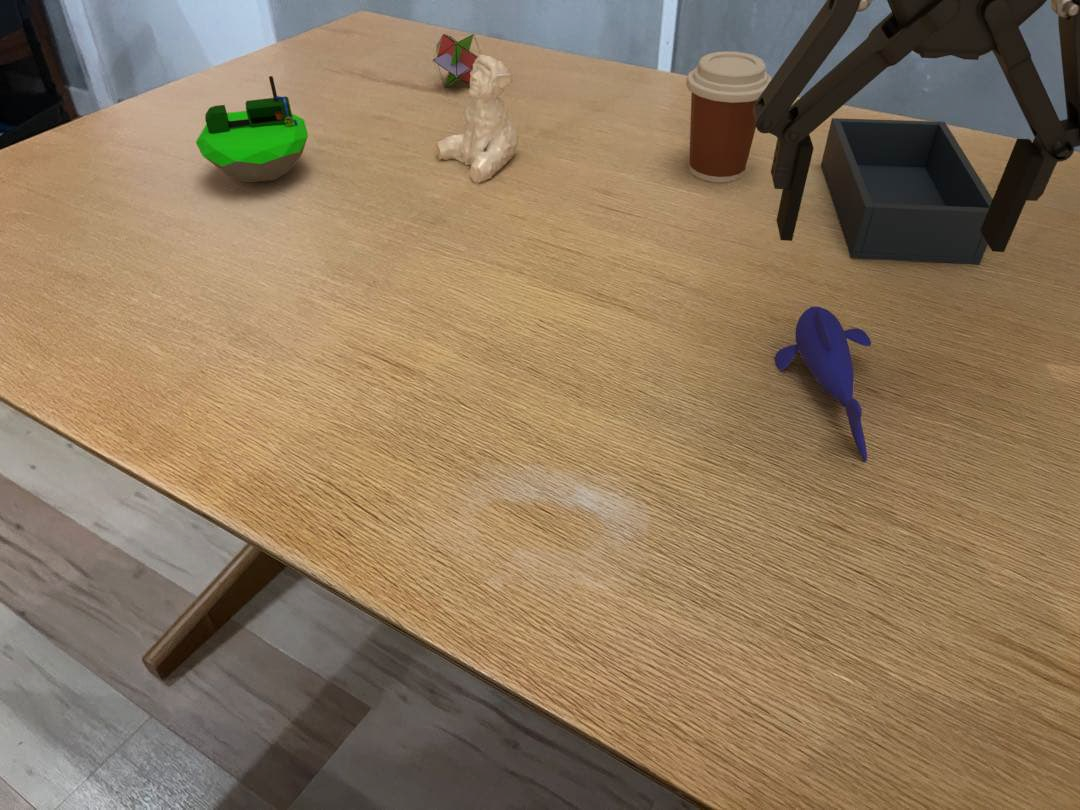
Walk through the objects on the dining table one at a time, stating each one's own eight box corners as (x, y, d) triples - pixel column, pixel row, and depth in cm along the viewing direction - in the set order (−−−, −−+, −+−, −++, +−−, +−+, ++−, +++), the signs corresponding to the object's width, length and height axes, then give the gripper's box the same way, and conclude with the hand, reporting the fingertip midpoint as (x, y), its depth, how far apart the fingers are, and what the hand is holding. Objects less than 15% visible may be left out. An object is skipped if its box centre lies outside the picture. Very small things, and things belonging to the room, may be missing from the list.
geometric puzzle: (505, 67, 113) (473, 12, 110) (477, 83, 108) (443, 27, 106) (473, 91, 118) (442, 39, 116) (444, 107, 114) (412, 54, 111)
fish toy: (770, 352, 71) (755, 291, 67) (859, 328, 70) (851, 263, 65) (814, 479, 60) (801, 414, 56) (922, 453, 58) (917, 385, 54)
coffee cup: (743, 194, 90) (761, 84, 82) (664, 177, 93) (675, 69, 85) (767, 161, 96) (787, 55, 88) (693, 145, 99) (705, 42, 91)
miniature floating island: (311, 147, 100) (291, 54, 92) (318, 191, 91) (298, 92, 84) (208, 160, 97) (180, 65, 90) (206, 206, 89) (175, 106, 82)
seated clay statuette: (431, 156, 97) (421, 52, 89) (490, 137, 101) (485, 35, 93) (478, 185, 92) (471, 77, 84) (538, 163, 96) (537, 58, 88)
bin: (929, 169, 94) (944, 121, 90) (979, 264, 79) (1001, 212, 75) (820, 165, 95) (831, 117, 91) (850, 258, 80) (865, 206, 76)
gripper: (759, -130, 39) (702, 254, 53) (1317, -120, 37) (1103, 276, 51) (747, -155, 45) (697, 199, 59) (1231, -147, 43) (1060, 217, 57)
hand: (886, 236), depth 55 cm, fingers open, 13 cm apart
